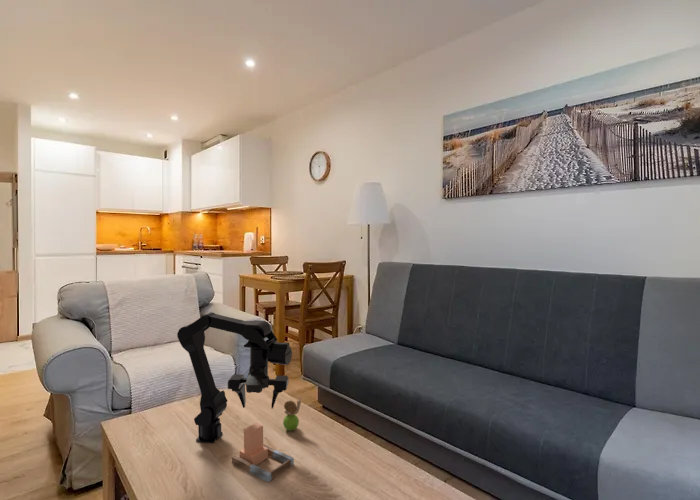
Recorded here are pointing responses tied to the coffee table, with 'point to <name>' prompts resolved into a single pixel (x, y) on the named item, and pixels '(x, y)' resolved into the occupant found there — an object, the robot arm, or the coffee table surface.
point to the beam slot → (261, 472)
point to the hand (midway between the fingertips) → (258, 407)
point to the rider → (254, 445)
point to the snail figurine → (291, 414)
